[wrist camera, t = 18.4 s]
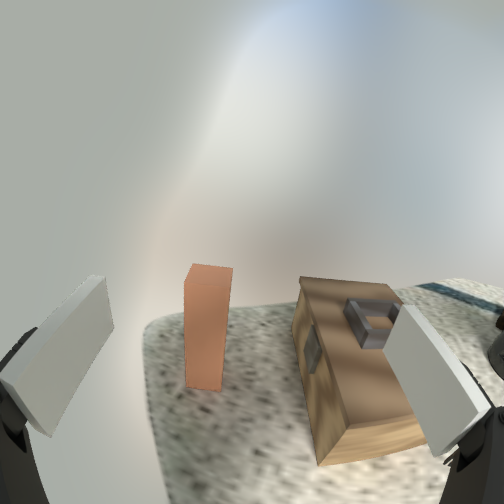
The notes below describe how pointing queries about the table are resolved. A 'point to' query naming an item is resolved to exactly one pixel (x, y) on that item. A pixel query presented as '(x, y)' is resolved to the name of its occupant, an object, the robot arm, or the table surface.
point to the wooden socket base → (351, 371)
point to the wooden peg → (206, 324)
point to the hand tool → (500, 322)
